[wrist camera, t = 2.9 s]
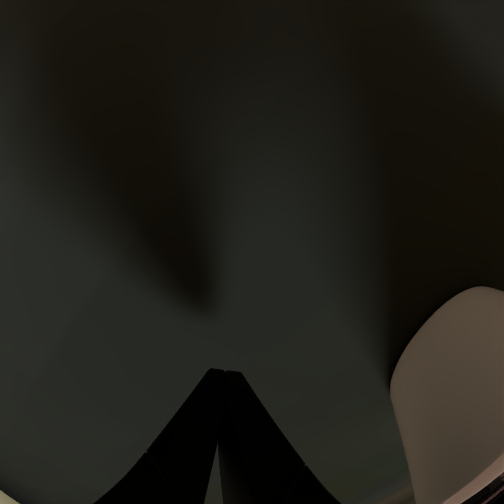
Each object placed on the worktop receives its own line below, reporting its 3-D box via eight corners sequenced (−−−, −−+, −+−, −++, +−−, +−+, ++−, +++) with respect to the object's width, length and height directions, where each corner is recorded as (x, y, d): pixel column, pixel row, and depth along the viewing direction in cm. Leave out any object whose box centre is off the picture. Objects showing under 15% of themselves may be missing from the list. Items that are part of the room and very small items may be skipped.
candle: (337, 433, 10) (374, 544, 4) (408, 249, 8) (566, 362, 2) (463, 401, 11) (509, 467, 5) (526, 264, 9) (608, 316, 3)
